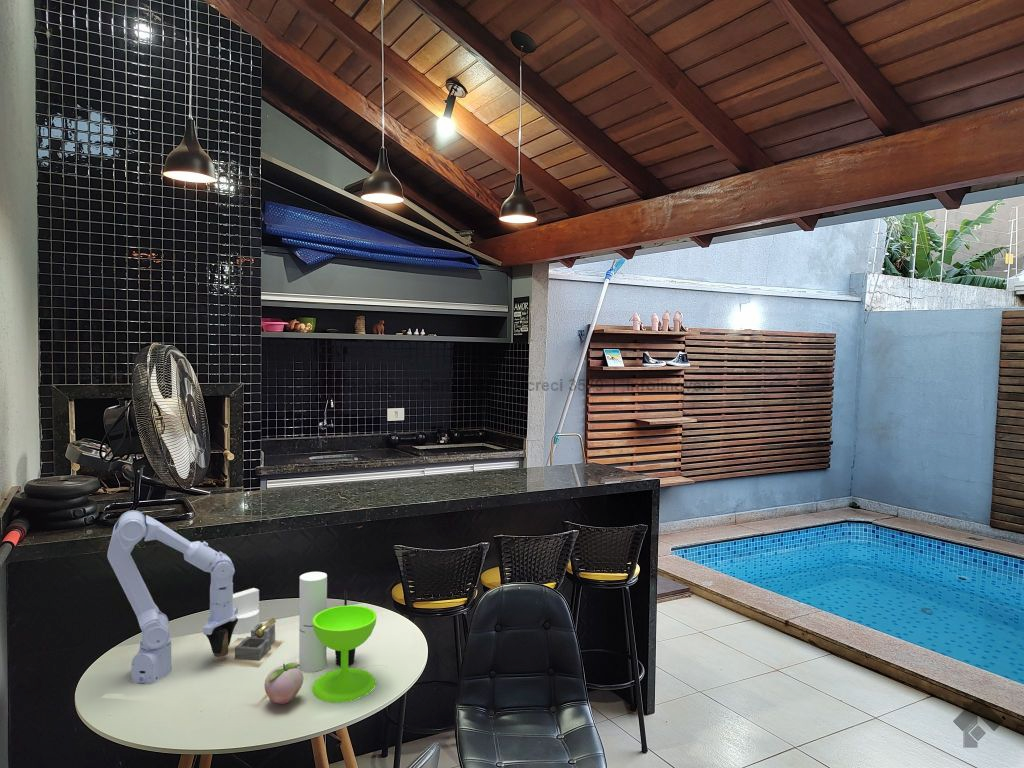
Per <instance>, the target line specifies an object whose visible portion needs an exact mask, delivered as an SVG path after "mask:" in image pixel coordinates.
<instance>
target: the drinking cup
mask: <svg viewBox="0 0 1024 768" xmlns="http://www.w3.org/2000/svg"><path fill="white" fill-rule="evenodd" d="M343 592H344V593H343V594H344V597H343V598H344V600H343V601H344V603H343V604H344V605H343V606H347V605H348V591H346V590H345V591H343ZM334 653H335V662H336V663H335V664H336V665H337V666H338V667H341V651H336V650H334ZM355 655H356V648H355V649H352V650H348V667H349V666H351V665H353V664H354V663H355Z"/></svg>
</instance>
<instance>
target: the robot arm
mask: <svg viewBox="0 0 1024 768" xmlns="http://www.w3.org/2000/svg"><path fill="white" fill-rule="evenodd" d="M142 539H143V541H144V542H149V541H155V540H156V541H159V542H161V543H163V544H164V545H166V546H168V547H170V548H172V549H175V550H176V551H178V552H180V553H182V554H183V559H184V561H186V562H188V563H189V564H191V565H193V566H194V567H196V568H198V569H200V570H202V572H206V573H210V585H209V617H208V619H207V622H206V623H205V625H204V626H203V628H202V630H203V631H202V634H203V635H205V636H206V637H207V639H208V641H209V644H210V648H211V652H212V654H214V653H218V654H220V653H221V651H222V646H223V639H224V635H225V633H226V631H227V630H228V647H229V646H230V645H231V641H232V635H233V634H232V633H233V630H234V628H235V625H236V624H237V622H238V618H237V616H234V615H235V614H237V613H238V606H233V594H234V582H233V580H234V578H233V577H234V574H235V572H236V570H235V565H234V563H233V562H232V559H231V558H230V557H229V556H228V555H227V553H223V552H222V551H216V550H215V549H214V548H212V547H210V546H209V543H208V542H206V541H203V542H202V541H200V540H197V541H190V540H189V539H187V538H185V537H183V536H182V535H180V534H179V533H177V532H176V531H174V530H173V529H171V528H169V527H168V526H166V524H164V523H162V522H160V521H158V520H157V519H155V518H153V517H151V516H149V515H144V514H143V512H141V511H139V510H134V509H133V510H128V511H126V512H124V513H122V514H121V515H120V516H119V518H118V520H117V521H116V523H115V524H114V526H113V530H112V533H111V537H110V541H109V544H108V545H109V546H108V550H107V555H106V557H107V560H108V562H109V564H110V567H111V568H112V570H113V572H114V573H115V576H116V577H117V580H118V582H119V584H120V586H121V588H122V589H123V592H124V594H125V595H126V598H127V600H128V602H129V604H130V605H131V608H132V610H133V612H134V615H136V619H137V621H138V624H139V628H140V630H141V633H142V635H141V641H140V642H139V649H138V651H137V653H136V654H135V655H134V657H133V658H132V660H131V667H130V668H131V683H136V684H139V683H140V684H149V685H150V684H153V685H154V684H155V683H157V682H158V681H159V680H160V679H162V678H163V677H165V676H167V675H169V674H170V673H171V671H172V637H170V636H171V633H170V632H171V631H170V629H169V628H170V626H169V624H170V623H169V618H168V616H167V615H166V614H165V613H163V612H162V611H161V610H160V609H159V607H158V605H157V604H156V603H155V601H154V600H153V596H152V595H151V593H150V591H149V588H148V586H147V585H146V583H145V581H144V579H143V577H142V575H141V573H140V571H139V569H138V566H137V564H136V563H135V561H134V559H133V556H132V555H131V553H132V551H133V549H134V548H135V545H137V544H138V543H139V542H140V541H142Z"/></svg>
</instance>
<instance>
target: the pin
mask: <svg viewBox="0 0 1024 768" xmlns="http://www.w3.org/2000/svg"><path fill="white" fill-rule="evenodd" d="M276 621H277V619H275V618H274V617H272V618H270V619H269V620H268V621H266V623H264V624H263V626H262V627H261V628H260V629H258V630H257V631H256V636H257V637H261V636H262V635H263V634H264V631H265V630H266V629H267V628H268V627H269V626H270V625H271V624H275V625H276Z"/></svg>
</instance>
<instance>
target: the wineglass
mask: <svg viewBox="0 0 1024 768" xmlns="http://www.w3.org/2000/svg"><path fill="white" fill-rule="evenodd" d="M377 618H378V617H377V612H376V611H374V609H372V608H369V607H368V606H367V607H366V606H362V605H354V604H353V605H349V604H347V606H344V605H339V606H332V607H329V608H327V609H326V610H323V611H321V612H319V613H318V614H316V615H315V616H314V618H313V628H314V632H315V634H316V636H317V638H318V639H319V640H320V641H321V643H322V644H323V645H325V646H326V647H327V648H328V649H330V650H333V651H335V650H336V651H341V666H340V668H337V669H334V670H331V671H330V670H329V671H328V672H325V673H324V674H322V675H321V676H318V678H317V679H316V680H315V681H314V683H313V685H312V688H311V690H312V691H311V692H312V694H313V695H314V696H315V697H316V698H317V699H319V700H322V701H324V702H329V703H346V702H345V701H347V702H351V701H350V700H352V701H355V699H356V700H358V699H357V698H359V697H361V698H363V697H362V696H364V695H365V694H367V693H369V692H370V691H371V690H372V689H373V688H374V686H375V687H376V685H375V684H377V683H376V682H375V681H376V678H375V676H374V675H373V674H372V673H370V672H369V671H367V670H364V669H361V668H356V667H355V668H354V667H349V666H348V650H352V649H355V650H356V648H358V647H360V646H361V645H362V644H364V643H365V642H367V640H368V639H369V638H370V637H371V635H372V633H373V631H374V628H375V626H376V623H377V622H376V621H377ZM374 689H375V688H374ZM374 689H373V690H374ZM373 690H372V691H373ZM372 691H371V692H372ZM371 692H370V693H371ZM370 693H369V694H370ZM367 695H368V694H367ZM364 697H365V696H364ZM359 699H360V698H359Z"/></svg>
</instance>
